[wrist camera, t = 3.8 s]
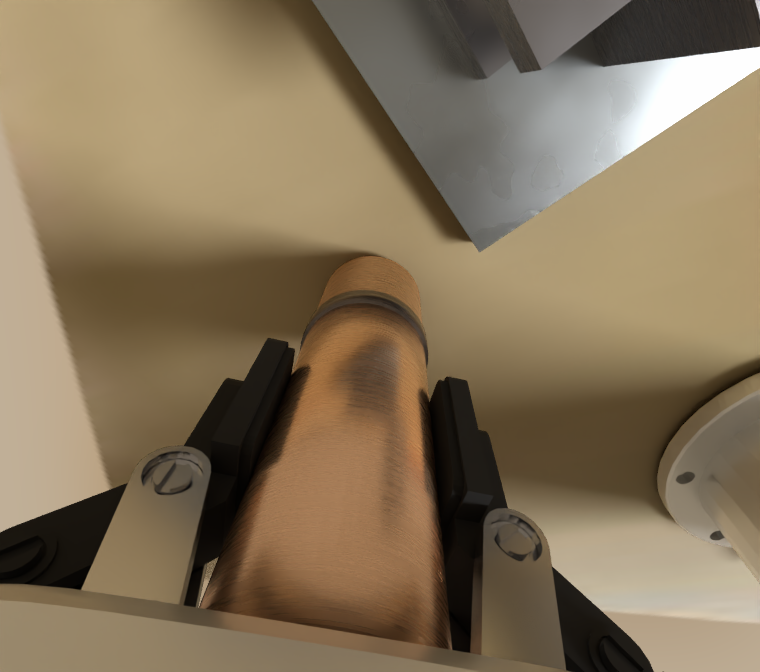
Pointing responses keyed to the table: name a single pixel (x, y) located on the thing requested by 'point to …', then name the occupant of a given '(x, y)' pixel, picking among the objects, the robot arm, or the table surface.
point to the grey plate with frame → (538, 87)
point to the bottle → (347, 477)
